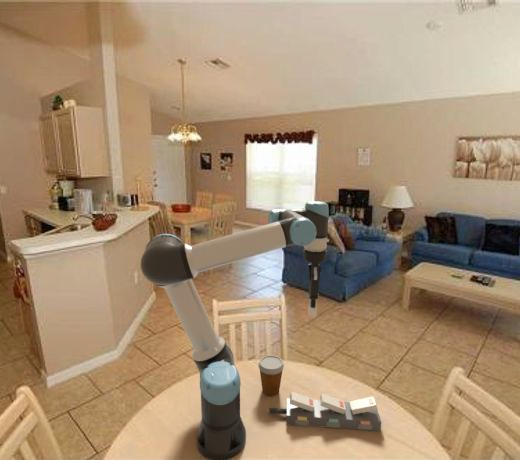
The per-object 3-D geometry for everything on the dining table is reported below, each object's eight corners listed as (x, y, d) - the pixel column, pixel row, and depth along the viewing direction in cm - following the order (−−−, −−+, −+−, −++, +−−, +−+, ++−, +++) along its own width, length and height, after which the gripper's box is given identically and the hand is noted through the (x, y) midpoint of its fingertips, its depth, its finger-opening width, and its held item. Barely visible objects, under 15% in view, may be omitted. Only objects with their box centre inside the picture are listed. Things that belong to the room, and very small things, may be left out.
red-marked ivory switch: (289, 403, 113) (291, 399, 112) (289, 395, 116) (291, 391, 116) (312, 412, 113) (315, 407, 112) (312, 403, 116) (314, 398, 116)
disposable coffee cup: (281, 401, 123) (282, 371, 120) (255, 397, 124) (255, 368, 122) (285, 384, 132) (285, 356, 129) (260, 380, 134) (261, 353, 131)
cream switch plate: (320, 405, 112) (322, 400, 111) (319, 397, 116) (321, 392, 115) (343, 414, 112) (345, 409, 111) (341, 405, 116) (344, 400, 115)
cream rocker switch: (353, 414, 111) (351, 409, 111) (350, 405, 115) (349, 401, 115) (377, 409, 110) (376, 404, 110) (374, 400, 114) (373, 395, 114)
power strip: (268, 424, 112) (268, 412, 111) (269, 405, 120) (269, 394, 119) (380, 432, 109) (382, 419, 108) (374, 412, 117) (375, 401, 116)
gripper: (328, 254, 106) (325, 324, 111) (324, 244, 119) (321, 307, 124) (304, 253, 107) (302, 323, 112) (302, 243, 120) (300, 306, 125)
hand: (312, 314), depth 118 cm, fingers closed
